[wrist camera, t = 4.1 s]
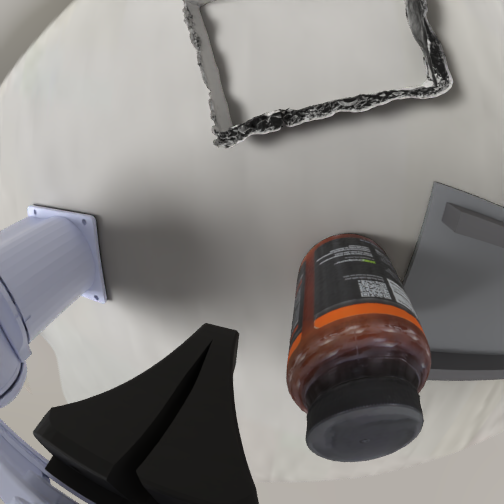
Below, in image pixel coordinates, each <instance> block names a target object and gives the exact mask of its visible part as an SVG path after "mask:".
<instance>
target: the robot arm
mask: <svg viewBox="0 0 504 504" xmlns="http://www.w3.org/2000/svg"><path fill="white" fill-rule="evenodd" d="M27 211H28V217H26V218H24V219H22V220H20V221H18V222H16V223H14V224H12V225H11V226H9V227H7V228H5V229H3V230H1V231H0V408H2V407H5V406H6V405H8V404H9V403H10V402H12V401H13V400H14V399H15V398H16V396H17V395H18V394H19V392H20V391H21V389H22V386H23V384H24V382H25V379H26V375H27V366H26V362H25V360H26V359H27V358H28V357H29V356H30V355H31V354H32V352H31V350H30V348H29V345H28V344H29V343H30V342H31V341H32V340H33V339H34V338H35V337H36V336H37V335H38V334H39V333H40V332H41V331H43V330H44V329H45V328H46V327H47V326H48V325H49V324H50V323H51V322H52V321H53V320H54V319H55V318H56V317H58V316H59V315H60V314H61V313H62V312H63V311H64V310H65V309H66V308H68V307H69V306H70V305H71V304H72V303H73V302H74V301H75V300H77V299H78V298H79V297H80V296H83V297H86V298H89V299H91V300H94V301H97V302H99V303H102V304H104V303H105V302H106V301H107V296H106V290H105V285H104V279H103V273H102V267H101V260H100V253H99V245H98V236H97V227H96V220H95V218H94V217H93V216H92V215H87V214H81V213H75V212H70V211H64V210H58V209H52V208H47V207H41V206H35V205H30V206H28V209H27ZM85 220H86V221H85ZM86 222H87V223H86ZM238 339H239V333H238V332H237V331H236V330H232V329H228V328H224V327H219V326H215V325H211V324H207V323H205V324H204V325H202V326H201V327H200V328H199V329H198V330H197V331H196V332H195V333H194V334H193V335H192V336H191V337H189V338H188V339H187V340H186V341H185V342H184V343H183V344H181V345H180V346H179V347H178V348H177V349H175V350H174V351H173V352H172V353H170V354H169V355H168V356H166V357H165V358H164V359H162V360H161V361H159V362H158V363H157V364H155V365H154V366H152V367H151V368H149V369H148V370H146V371H145V372H143V373H142V374H140V375H138V376H137V377H135V378H133V379H131V380H129V381H128V382H126V383H124V384H122V385H119V386H117V387H115V388H113V389H111V390H109V391H106V392H104V393H101V394H99V395H96V396H93V397H90V398H88V399H85V400H82V401H78V402H74V403H70V404H66V405H63V406H58V407H53V408H51V409H50V410H49V411H48V413H47V414H46V415H45V416H44V417H43V419H42V420H41V422H40V423H39V424H38V426H37V427H36V429H35V430H34V431H33V434H34V436H35V437H36V439H37V440H38V441H39V442H40V443H41V444H42V445H43V446H44V447H45V448H46V449H47V450H48V451H49V452H50V453H51V454H52V455H53V457H52V458H51V460H50V461H48V460H47V459H46V458H44V457H43V456H42V455H41V454H39V453H38V452H37V451H35V450H34V449H33V448H32V447H30V446H29V445H28V444H27V443H26V442H24V440H22V439H21V438H20V437H19V436H18V435H17V434H16V433H15V432H14V431H13V430H11V429H10V428H9V427H8V426H7V425H6V424H5V423H4V422H3V421H2V420H1V419H0V498H1V499H2V501H3V502H4V503H5V504H79V503H77V502H76V501H74V500H73V499H71V498H70V497H68V496H67V495H65V494H63V493H62V492H61V491H59V490H58V489H56V488H55V487H54V486H52V485H51V484H50V479H49V478H51V479H52V480H53V481H55V482H56V483H58V484H59V485H60V486H62V487H64V488H65V489H66V490H68V491H69V492H71V493H72V494H74V495H75V496H77V497H78V498H80V499H82V500H83V501H85V502H87V503H88V504H259V502H258V497H257V491H256V487H255V484H254V482H253V479H252V476H251V473H250V470H249V467H248V464H247V461H246V457H245V454H244V450H243V446H242V442H241V437H240V433H239V428H238V423H237V417H236V410H235V402H234V390H233V372H234V369H235V365H236V357H237V348H238Z"/></svg>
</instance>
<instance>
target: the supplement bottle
mask: <svg viewBox="0 0 504 504" xmlns="http://www.w3.org/2000/svg"><path fill="white" fill-rule="evenodd" d="M430 367H431V353H430V347H429V344H428V341H427V339H426V336H425V334H424V332H423V329H422V326H421V324H420V322H419V320H418V317H417V315H416V313H415V311H414V309H413V306H412V304H411V302H410V300H409V298H408V296H407V293H406V291H405V289H404V287H403V285H402V283H401V281H400V279H399V277H398V275H397V273H396V271H395V269H394V267H393V266H392V264H391V262H390V260H389V258H388V257H387V255H386V253H385V252H384V251H383V249H382V248H381V247H380V246H379V245H378V244H376V243H375V242H374V241H372V240H371V239H369V238H366V237H363V236H360V235H357V234H340V235H336V236H331V237H329V238H326V239H324V240H322V241H321V242H319V243H318V244H317V245H315V246H314V247H313V248H312V249H311V250H310V251H309V252H308V253H307V255H306V256H305V257H304V259H303V261H302V263H301V266H300V269H299V274H298V279H297V287H296V297H295V305H294V314H293V321H292V330H291V338H290V346H289V354H288V362H287V377H286V379H287V386H288V390H289V393H290V395H291V397H292V399H293V400H294V401H295V403H296V404H297V405H298V406H299V407H300V409H301V410H302V411H304V412H305V413H307V431H306V443H307V446H308V448H309V449H310V450H311V451H312V452H314V453H315V454H316V455H318V456H320V457H323V458H326V459H329V460H333V461H340V462H358V461H367V460H372V459H376V458H379V457H383V456H386V455H389V454H391V453H393V452H395V451H397V450H399V449H401V448H403V447H405V446H406V445H408V444H409V443H410V442H411V441H413V440H414V439H415V438H416V437H417V436H418V434H419V433H420V431H421V429H422V426H423V422H424V420H423V413H422V409H421V405H420V396H419V394H418V393H419V392H420V391H421V389H422V388H423V386H424V384H425V382H426V380H427V378H428V375H429V372H430Z"/></svg>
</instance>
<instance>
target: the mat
mask: <svg viewBox="0 0 504 504" xmlns="http://www.w3.org/2000/svg"><path fill="white" fill-rule="evenodd" d="M402 285H403V287H404V289H405V291H406V293H407V296H408V298H409V300H410V302H411V304H412V306H413V309H414V311H415V313H416V315H417V317H418V320H419V322H420V324H421V326H422V329H423V332H424V334H425V336H426V339H427V341H428V344H429V347H430V353H431V367H430V372H429V375H428V378H427V380H449V381H465V380H496V379H504V208H503V207H501V206H499V205H496V204H494V203H492V202H489V201H487V200H484V199H482V198H479V197H477V196H474V195H471V194H469V193H466V192H463V191H461V190H458V189H455V188H452V187H449V186H446V185H443V184H440V183H437V182H434V184H433V188H432V193H431V197H430V200H429V204H428V208H427V212H426V215H425V219H424V222H423V226H422V229H421V232H420V236H419V239H418V242H417V245H416V248H415V251H414V254H413V257H412V260H411V262H410V265H409V268H408V271H407V273H406V276H405V279H404V281H403V284H402Z"/></svg>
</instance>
